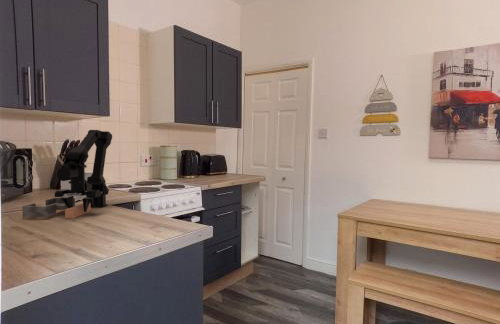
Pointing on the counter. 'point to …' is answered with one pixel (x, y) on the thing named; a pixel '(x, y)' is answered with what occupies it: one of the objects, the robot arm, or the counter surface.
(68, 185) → the supplement box
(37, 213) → the bracket stand
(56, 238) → the counter surface
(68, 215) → the rail
